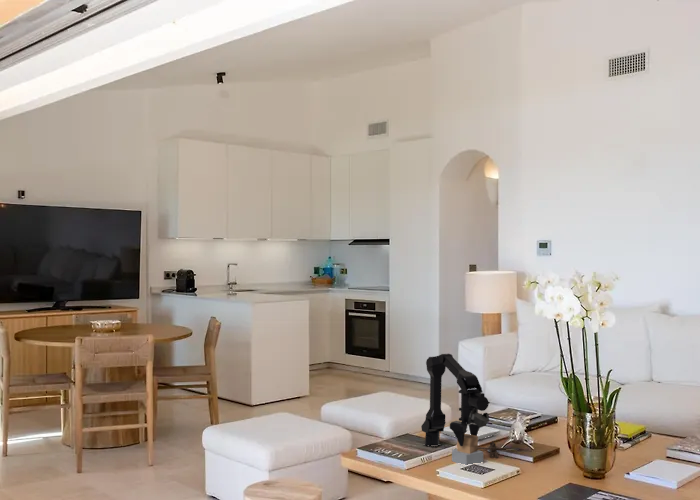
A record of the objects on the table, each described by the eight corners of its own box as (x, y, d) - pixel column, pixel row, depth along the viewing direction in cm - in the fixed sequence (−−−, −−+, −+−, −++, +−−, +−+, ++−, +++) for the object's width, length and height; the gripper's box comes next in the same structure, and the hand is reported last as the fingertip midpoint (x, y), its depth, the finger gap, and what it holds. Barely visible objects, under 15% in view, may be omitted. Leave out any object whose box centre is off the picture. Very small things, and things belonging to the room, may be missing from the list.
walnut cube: (465, 447, 295) (465, 433, 295) (477, 450, 291) (477, 436, 291) (457, 450, 290) (457, 436, 290) (469, 453, 286) (469, 438, 286)
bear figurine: (472, 450, 298) (472, 438, 313) (472, 460, 299) (471, 447, 313) (516, 452, 296) (513, 440, 310) (515, 462, 296) (513, 449, 310)
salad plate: (465, 428, 348) (465, 421, 348) (501, 436, 333) (501, 429, 333) (437, 435, 334) (437, 428, 334) (473, 444, 318) (474, 437, 318)
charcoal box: (468, 458, 297) (468, 446, 297) (483, 464, 289) (483, 451, 289) (451, 461, 292) (451, 449, 292) (466, 467, 285) (466, 455, 285)
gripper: (473, 412, 279) (472, 452, 279) (497, 405, 293) (496, 442, 293) (449, 408, 286) (448, 446, 286) (473, 401, 300) (473, 438, 300)
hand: (467, 443), depth 291 cm, fingers open, 9 cm apart
